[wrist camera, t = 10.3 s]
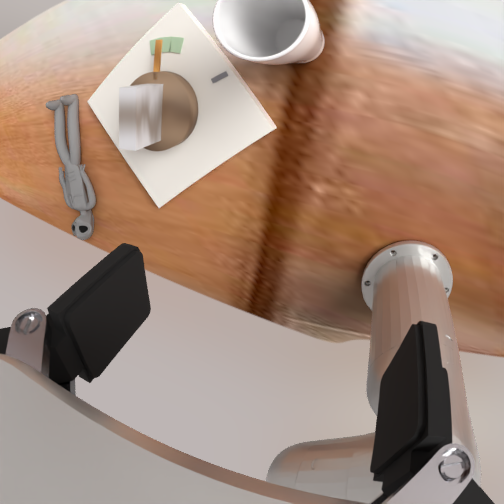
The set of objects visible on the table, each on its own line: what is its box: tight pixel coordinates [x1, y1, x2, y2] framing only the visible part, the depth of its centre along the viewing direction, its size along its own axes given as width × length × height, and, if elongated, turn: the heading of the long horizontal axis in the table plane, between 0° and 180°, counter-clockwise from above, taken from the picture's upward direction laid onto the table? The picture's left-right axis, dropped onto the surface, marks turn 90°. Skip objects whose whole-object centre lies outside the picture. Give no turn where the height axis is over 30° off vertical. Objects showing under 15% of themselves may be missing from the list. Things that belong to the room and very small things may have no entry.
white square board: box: [88, 3, 277, 208], centre depth 36 cm, size 20×20×2 cm
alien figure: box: [46, 94, 96, 240], centre depth 45 cm, size 8×5×25 cm
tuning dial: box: [119, 40, 198, 151], centre depth 32 cm, size 14×10×7 cm
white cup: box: [212, 0, 324, 65], centre depth 22 cm, size 7×7×15 cm
